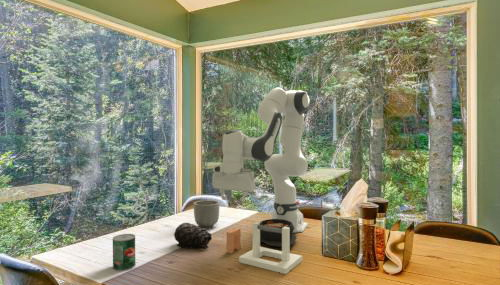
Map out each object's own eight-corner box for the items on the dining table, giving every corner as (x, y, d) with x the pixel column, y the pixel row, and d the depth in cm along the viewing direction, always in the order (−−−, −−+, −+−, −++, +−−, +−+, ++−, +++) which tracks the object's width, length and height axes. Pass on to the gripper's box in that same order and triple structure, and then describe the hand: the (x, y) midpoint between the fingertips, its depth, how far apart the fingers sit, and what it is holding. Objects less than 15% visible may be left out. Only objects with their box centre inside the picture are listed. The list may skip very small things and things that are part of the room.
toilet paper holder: (239, 262, 120) (238, 225, 120) (258, 250, 132) (257, 217, 132) (286, 274, 109) (285, 234, 109) (302, 260, 121) (302, 224, 121)
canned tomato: (134, 269, 114) (134, 239, 114) (111, 272, 112) (111, 241, 112) (136, 261, 122) (135, 233, 121) (114, 263, 119) (113, 234, 119)
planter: (224, 225, 170) (224, 201, 170) (208, 232, 159) (208, 206, 158) (205, 221, 178) (205, 199, 177) (188, 228, 166) (187, 203, 166)
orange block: (235, 247, 136) (235, 228, 136) (240, 248, 135) (240, 229, 134) (226, 252, 131) (226, 232, 130) (231, 253, 129) (231, 232, 129)
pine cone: (209, 251, 132) (208, 227, 132) (170, 248, 136) (170, 225, 136) (217, 243, 142) (216, 221, 142) (180, 240, 146) (180, 219, 146)
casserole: (252, 233, 156) (252, 216, 156) (289, 232, 158) (289, 215, 158) (260, 251, 131) (260, 231, 131) (303, 249, 134) (303, 229, 133)
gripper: (257, 168, 129) (258, 202, 129) (219, 166, 140) (219, 197, 140) (249, 170, 124) (249, 204, 124) (209, 167, 135) (210, 199, 135)
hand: (233, 200), depth 132 cm, fingers open, 8 cm apart
